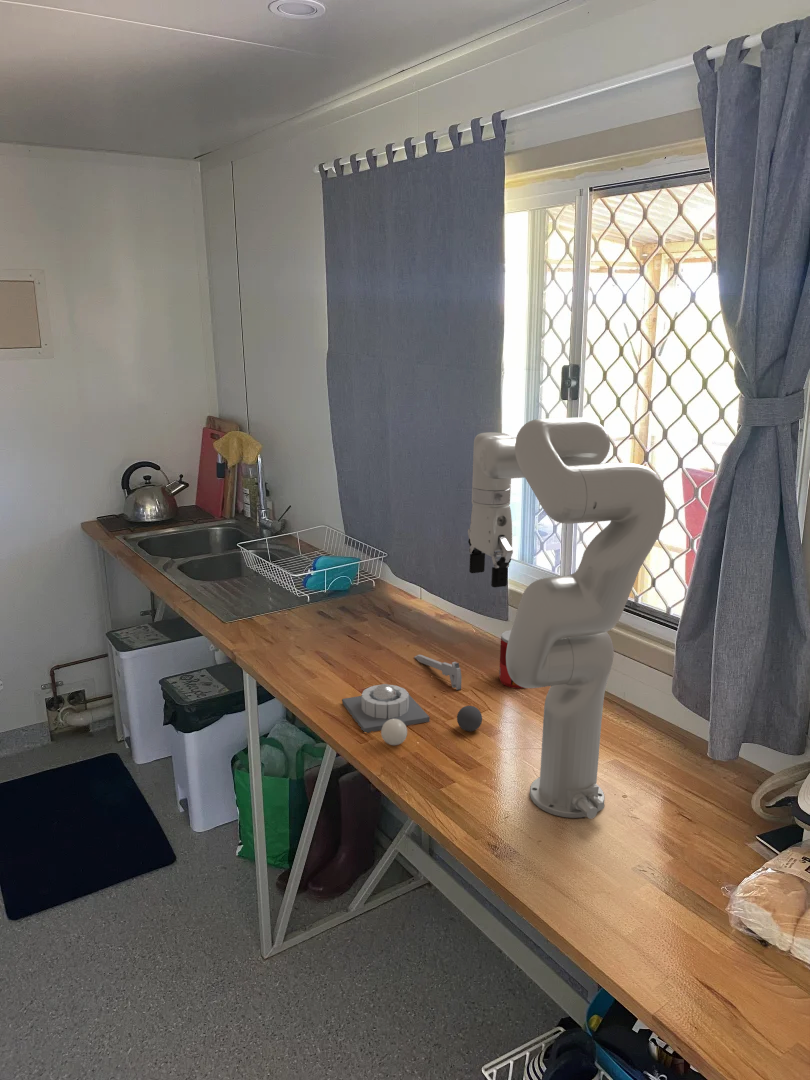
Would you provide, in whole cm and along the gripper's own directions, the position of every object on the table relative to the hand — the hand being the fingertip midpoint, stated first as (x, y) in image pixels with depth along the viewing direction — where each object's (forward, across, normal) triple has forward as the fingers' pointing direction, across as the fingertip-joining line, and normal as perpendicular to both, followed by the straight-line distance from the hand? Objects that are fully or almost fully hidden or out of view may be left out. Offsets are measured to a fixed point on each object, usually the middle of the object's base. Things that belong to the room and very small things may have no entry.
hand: (487, 579), depth 172 cm
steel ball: (+25, +5, +20) cm, 32 cm away
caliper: (+29, +19, +2) cm, 35 cm away
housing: (+28, +5, +20) cm, 35 cm away
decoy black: (+26, -8, +7) cm, 28 cm away
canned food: (+28, +9, -13) cm, 33 cm away
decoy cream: (+26, -8, +23) cm, 35 cm away
